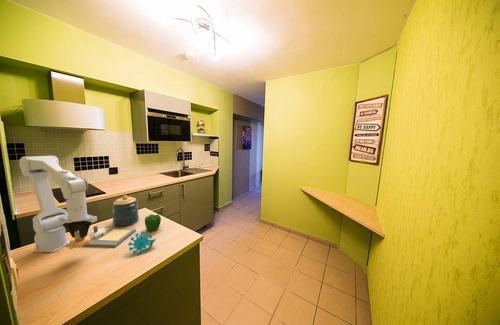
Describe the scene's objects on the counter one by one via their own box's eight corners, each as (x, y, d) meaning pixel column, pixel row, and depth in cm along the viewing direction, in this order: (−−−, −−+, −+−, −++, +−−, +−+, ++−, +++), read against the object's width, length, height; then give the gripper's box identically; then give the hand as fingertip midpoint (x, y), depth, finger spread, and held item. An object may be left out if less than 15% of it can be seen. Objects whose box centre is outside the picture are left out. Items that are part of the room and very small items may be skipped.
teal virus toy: (125, 255, 70) (130, 232, 76) (126, 258, 74) (130, 235, 80) (154, 251, 76) (156, 229, 81) (154, 254, 80) (156, 233, 85)
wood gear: (60, 249, 66) (58, 236, 65) (81, 237, 74) (79, 226, 73) (80, 249, 66) (78, 237, 65) (98, 237, 74) (97, 226, 73)
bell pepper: (154, 224, 100) (154, 209, 99) (163, 227, 97) (163, 211, 96) (141, 230, 92) (140, 214, 91) (150, 234, 89) (150, 217, 88)
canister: (112, 221, 102) (110, 194, 99) (137, 215, 110) (135, 191, 108) (113, 229, 92) (111, 200, 90) (140, 222, 101) (139, 196, 99)
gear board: (70, 245, 77) (69, 234, 77) (97, 230, 91) (96, 220, 91) (115, 247, 78) (114, 236, 77) (135, 231, 91) (135, 221, 91)
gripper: (48, 210, 64) (51, 241, 65) (84, 211, 64) (87, 242, 65) (67, 203, 71) (71, 232, 72) (100, 204, 71) (102, 233, 72)
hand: (79, 236), depth 69 cm, fingers closed on wood gear, 3 cm apart
